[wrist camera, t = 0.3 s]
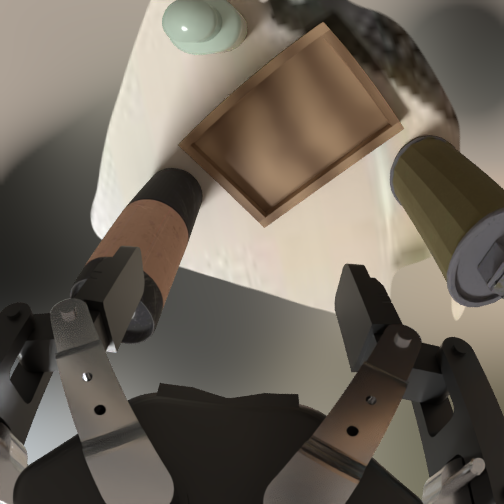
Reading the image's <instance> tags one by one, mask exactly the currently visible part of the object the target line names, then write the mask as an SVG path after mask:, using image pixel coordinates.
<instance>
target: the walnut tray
mask: <svg viewBox="0 0 504 504" xmlns="http://www.w3.org/2000/svg"><path fill="white" fill-rule="evenodd" d="M403 129H404V128H403V126H402V124H401V123H400V121H399V120H398V118H397V117H396V115H395V114H394V112H393V111H392V109H391V108H390V106H389V105H388V103H387V102H386V100H385V99H384V97H383V96H382V95H381V93H380V92H379V90H378V89H377V87H376V86H375V85H374V83H373V82H372V81H371V79H370V78H369V77H368V75H367V74H366V73H365V71H364V70H363V69H362V67H361V66H360V65H359V64H358V62H357V61H356V60H355V58H354V57H353V56H352V55H351V53H350V52H349V51H348V50H347V49H346V47H345V46H344V45H343V44H342V43H341V41H340V40H339V39H338V38H337V37H336V36H335V34H334V33H333V32H332V31H331V30H330V29H329V28H328V27H327V25H326V24H325V23H324V22H322V23H320V24H319V25H317V26H316V27H314V28H313V29H312V30H310V31H309V32H308V33H306V34H305V35H303V36H302V37H301V38H299V39H298V40H297V41H295V42H294V43H293V44H291V45H290V46H289V47H287V48H286V49H285V50H284V51H282V52H281V53H280V54H278V55H277V56H276V57H275V58H273V59H272V60H271V61H270V62H268V63H267V64H266V65H265V66H263V67H262V68H261V69H260V70H259V71H257V72H256V73H255V74H254V75H253V76H251V77H250V78H249V79H248V80H247V81H246V82H244V83H243V84H242V85H241V86H240V87H239V88H237V89H236V90H235V91H234V92H233V93H232V94H231V95H230V96H228V97H227V98H226V99H225V100H224V101H223V102H222V103H221V104H220V105H219V106H217V107H216V108H215V109H214V110H213V111H212V112H211V113H210V114H209V115H208V116H207V117H206V118H205V119H204V120H203V121H201V122H200V123H199V124H198V125H197V126H196V127H195V128H194V129H193V130H192V131H191V132H190V133H189V134H188V135H187V136H186V137H185V138H184V139H183V140H182V141H181V142H180V144H179V145H178V146H179V147H180V148H182V149H183V150H184V151H185V152H186V153H187V154H188V155H189V156H190V157H191V158H192V159H193V160H194V161H195V162H196V163H197V164H199V165H200V166H201V167H202V168H203V169H204V170H205V171H206V172H207V173H208V174H209V175H210V176H211V177H212V178H213V179H214V180H215V181H216V182H218V183H219V184H220V185H221V186H222V187H223V188H224V189H225V190H226V191H227V192H228V193H229V194H230V195H231V196H232V197H233V198H234V199H235V200H236V201H237V202H238V203H239V204H240V205H241V206H242V207H244V208H245V209H246V210H247V211H248V212H249V213H250V214H251V215H252V216H253V217H254V218H255V219H256V220H257V221H258V222H259V223H260V224H261V225H262V226H263V227H264V228H265V227H266V226H268V225H269V224H271V223H272V222H273V221H275V220H276V219H277V218H279V217H280V216H282V215H283V214H284V213H286V212H287V211H289V210H290V209H291V208H293V207H294V206H296V205H297V204H298V203H300V202H301V201H303V200H304V199H305V198H307V197H308V196H310V195H311V194H312V193H314V192H315V191H317V190H318V189H319V188H321V187H322V186H324V185H325V184H326V183H328V182H329V181H331V180H332V179H333V178H335V177H336V176H338V175H339V174H340V173H342V172H343V171H345V170H346V169H348V168H349V167H350V166H352V165H353V164H355V163H356V162H357V161H359V160H360V159H362V158H363V157H364V156H366V155H367V154H369V153H370V152H372V151H373V150H374V149H376V148H377V147H379V146H380V145H382V144H383V143H384V142H386V141H387V140H389V139H390V138H392V137H393V136H394V135H396V134H397V133H399V132H400V131H402V130H403Z"/></svg>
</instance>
